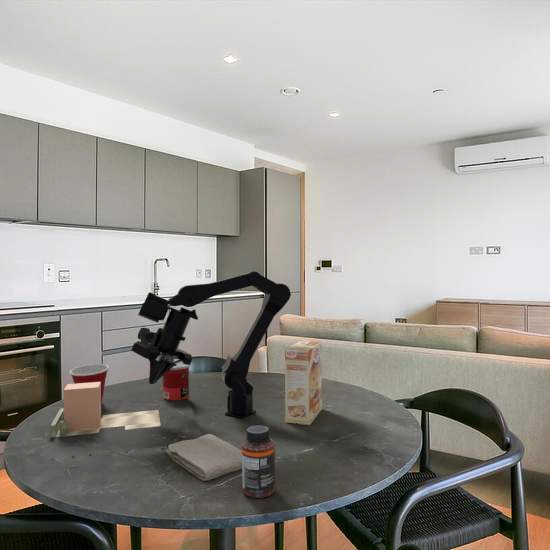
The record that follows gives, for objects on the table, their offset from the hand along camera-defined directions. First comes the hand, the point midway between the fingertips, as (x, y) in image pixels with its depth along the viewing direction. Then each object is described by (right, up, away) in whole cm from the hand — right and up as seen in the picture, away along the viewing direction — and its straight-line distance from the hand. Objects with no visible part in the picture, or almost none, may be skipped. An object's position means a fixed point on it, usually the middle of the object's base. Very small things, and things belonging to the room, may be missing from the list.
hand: (151, 383), depth 120 cm
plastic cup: (-21, -10, +12) cm, 27 cm away
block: (-15, -9, -6) cm, 19 cm away
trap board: (-10, -10, -4) cm, 15 cm away
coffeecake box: (+41, -10, +4) cm, 43 cm away
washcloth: (+19, -11, -25) cm, 33 cm away
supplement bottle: (+30, -10, -39) cm, 50 cm away
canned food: (+2, -10, +19) cm, 22 cm away
